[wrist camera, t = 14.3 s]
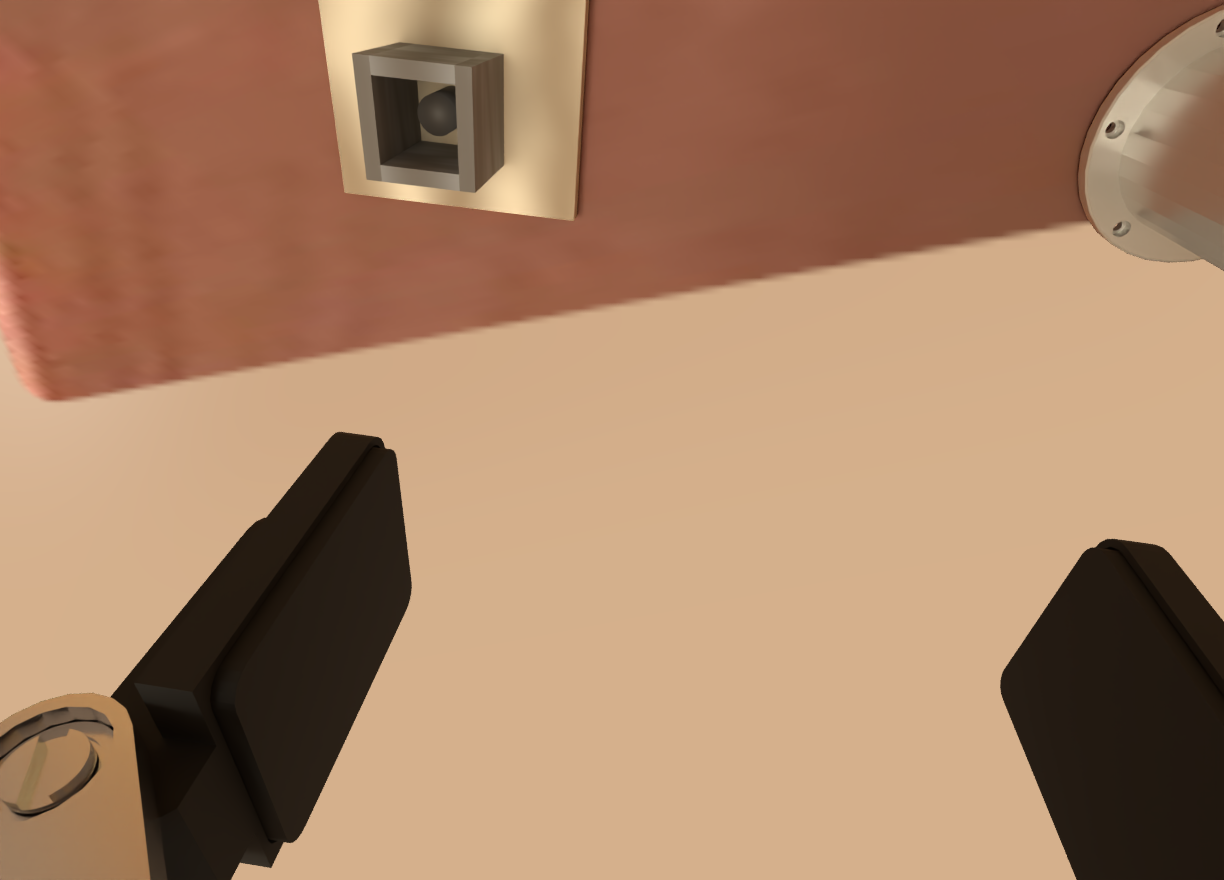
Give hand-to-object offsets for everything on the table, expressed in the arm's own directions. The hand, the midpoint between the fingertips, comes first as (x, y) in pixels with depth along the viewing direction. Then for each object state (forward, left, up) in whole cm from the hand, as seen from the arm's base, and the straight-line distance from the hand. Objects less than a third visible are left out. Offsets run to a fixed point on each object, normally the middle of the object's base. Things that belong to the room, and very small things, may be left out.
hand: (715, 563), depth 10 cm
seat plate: (+14, -5, -34) cm, 37 cm away
